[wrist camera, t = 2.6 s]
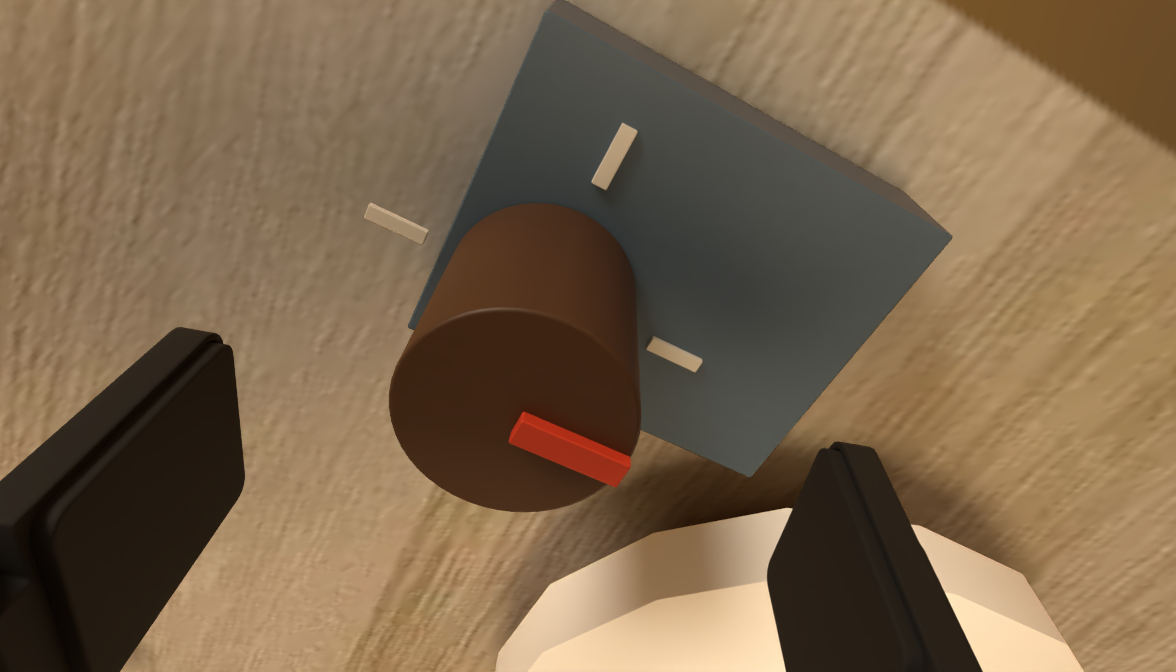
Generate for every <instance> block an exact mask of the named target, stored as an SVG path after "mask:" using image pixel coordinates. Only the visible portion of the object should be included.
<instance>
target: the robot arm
mask: <svg viewBox="0 0 1176 672" xmlns="http://www.w3.org/2000/svg"><path fill="white" fill-rule="evenodd" d="M244 480H245V470H244V460H243V449H242V439H241V429H240V418H239V408H238V397H237V387H236V376H235V366H234V356H233V350H232V348H231V346H229V345H226V344H223V340H222V338H221V337H220V335H218V334H216V333H211V332H206V331H200V330H194V329H188V328H183V327H178V328H175V329H173V330H172V331H171V332H169V333H168V334H167V335H166V336H165V337H164V338H163V339H161V340H160V341H159V342H158V343H157V344H156V345H155V346H153V347H152V348H151V349H150V350H149V351H148V352H147V353H145V354H144V355H143V356H142V357H141V358H140V359H139V360H138V361H136V362H135V363H134V364H133V365H132V366H131V367H130V368H128V369H127V370H126V371H125V372H124V373H123V374H122V375H120V376H119V377H118V378H117V379H116V380H115V381H114V382H112V383H111V384H110V385H109V386H108V387H107V388H106V389H105V390H103V391H102V392H101V393H100V394H99V395H98V396H97V397H95V398H94V399H93V400H92V401H91V402H90V403H89V404H87V405H86V406H85V407H84V408H83V409H82V410H81V411H79V412H78V413H77V414H76V415H75V416H74V417H73V418H71V419H70V420H69V421H68V422H67V423H66V424H65V425H64V426H62V427H61V428H60V429H59V430H58V431H57V432H56V433H54V434H53V435H52V436H51V437H50V438H49V439H48V440H46V441H45V442H44V443H43V444H42V445H41V446H40V447H38V448H37V449H36V450H35V451H34V452H33V453H32V454H31V455H29V456H28V457H27V458H26V459H25V460H24V461H23V462H21V463H20V464H19V465H18V466H17V467H16V468H15V469H13V470H12V471H11V472H10V473H9V474H8V475H7V476H5V477H4V478H3V479H2V480H1V481H0V672H120V671H121V669H122V668H123V666H124V665H125V663H126V662H127V660H128V659H129V657H130V656H131V655H132V653H133V652H134V650H135V649H136V647H137V646H138V644H139V643H140V641H141V640H142V638H143V637H144V636H145V634H146V633H147V631H148V630H149V628H150V627H151V625H152V624H153V622H154V621H155V619H156V618H157V617H158V615H159V614H160V612H161V611H162V609H163V608H164V606H165V605H166V603H167V602H168V600H169V599H170V598H171V596H172V595H173V593H174V592H175V590H176V589H177V587H178V586H179V584H180V583H181V581H182V580H183V579H184V577H185V576H186V574H187V573H188V571H189V570H190V568H191V567H192V565H193V564H194V562H195V561H196V560H197V558H198V557H199V555H200V554H201V552H202V551H203V549H204V548H205V546H206V545H207V543H208V542H209V541H210V539H211V538H212V536H213V535H214V533H215V532H216V530H217V529H218V527H219V526H220V524H221V523H222V522H223V520H224V519H225V517H226V516H227V514H228V513H229V511H230V510H231V508H232V507H233V505H234V504H235V503H236V501H237V500H238V498H239V496H240V494H241V492H242V489H243V485H244ZM767 585H768V590H769V595H770V600H771V604H772V609H773V614H774V618H775V623H776V628H777V632H778V637H779V642H780V646H781V651H782V656H783V660H784V665H785V670H786V672H983V671H982V669H981V667H980V665H979V662H978V660H977V658H976V656H975V654H974V652H973V650H972V648H971V646H970V644H969V642H968V640H967V637H966V635H965V633H964V631H963V629H962V627H961V625H960V623H959V621H958V619H957V617H956V615H955V613H954V610H953V608H952V606H951V604H950V602H949V600H948V598H947V596H946V594H945V592H944V590H943V588H942V585H941V583H940V581H939V579H938V577H937V575H936V573H935V571H934V569H933V567H932V565H931V563H930V560H929V558H928V556H927V554H926V552H925V550H924V549H923V547H922V546H921V544H920V543H919V541H918V539H917V536H916V534H915V532H914V530H913V528H912V526H911V524H910V522H909V520H908V518H907V516H906V513H905V511H904V509H903V507H902V505H901V503H900V501H899V499H898V497H897V495H896V493H895V490H894V488H893V486H892V484H891V482H890V480H889V478H888V476H887V474H886V472H885V469H884V467H883V465H882V463H881V461H880V459H879V457H878V455H877V453H876V451H875V450H874V449H873V448H871V447H867V446H861V445H856V444H850V443H844V442H834V443H833V444H832V445H831V446H830V448H829V449H826V448H822V449H821V450H820V451H819V452H818V454H817V455H816V458H815V460H814V462H813V464H812V467H811V469H810V471H809V473H808V476H807V478H806V480H805V482H804V485H803V487H802V489H801V491H800V494H799V496H798V498H797V500H796V503H795V505H794V507H793V509H792V512H791V514H790V516H789V518H788V521H787V523H786V525H785V527H784V530H783V532H782V534H781V536H780V539H779V541H778V543H777V545H776V548H775V550H774V552H773V554H772V556H771V559H770V561H769V564H768V569H767Z"/></svg>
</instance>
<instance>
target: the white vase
mask: <svg viewBox="0 0 1176 672" xmlns="http://www.w3.org/2000/svg"><path fill="white" fill-rule="evenodd" d="M791 512H792V508H784V509H778V510H773V511H768V512H762V513H757V514H752V515H746V516H741V517H736V518H730V519H725V520H720V521H714V522H709V523H704V524H698V525H693V526H688V527H682V528H677V529H672V530H666V531H661V532H656V533H652V534H650V535H648V536H646V537H644V538H642V539H640V540H638V541H636V542H634V543H632V544H630V545H628V546H626V547H624V548H622V549H620V550H618V551H616V552H614V553H612V554H610V555H608V556H606V557H604V558H602V559H600V560H598V561H596V562H594V563H592V564H590V565H588V566H586V567H584V568H582V569H580V570H578V571H576V572H574V573H572V574H570V575H568V576H566V577H564V578H562V579H560V580H558V581H556V582H554V583H552V584H550V585H549V586H548V588H547V589H546V590H545V592H544V593H543V594H542V596H541V597H540V598H539V600H538V601H537V602H536V604H535V605H534V606H533V607H532V609H531V610H530V611H529V613H528V614H527V615H526V617H525V618H524V619H523V621H522V622H521V623H520V625H519V626H518V627H517V629H516V630H515V631H514V633H513V634H512V635H511V637H510V638H509V639H508V641H507V642H506V643H505V645H504V646H503V647H502V648H501V650H500V651H499V653H498V659H497V665H496V671H495V672H786V670H785V665H784V660H783V656H782V651H781V646H780V642H779V637H778V632H777V628H776V623H775V618H774V614H773V609H772V604H771V600H770V595H769V590H768V585H767V569H768V564H769V561H770V559H771V556H772V554H773V552H774V550H775V548H776V545H777V543H778V541H779V539H780V536H781V534H782V532H783V530H784V527H785V525H786V523H787V521H788V518H789V516H790V514H791ZM911 526H912V528H913V530H914V532H915V534H916V536H917V539H918V541H919V543H920V544H921V546H922V547H923V549H924V550H925V552H926V554H927V556H928V558H929V560H930V563H931V565H932V567H933V569H934V571H935V573H936V575H937V577H938V579H939V581H940V583H941V585H942V588H943V590H944V592H945V594H946V596H947V598H948V600H949V602H950V604H951V606H952V608H953V610H954V613H955V615H956V617H957V619H958V621H959V623H960V625H961V627H962V629H963V631H964V633H965V635H966V637H967V640H968V642H969V644H970V646H971V648H972V650H973V652H974V654H975V656H976V658H977V660H978V662H979V665H980V667H981V669H982V671H983V672H1084V671H1083V669H1082V667H1081V666H1080V664H1079V663H1078V661H1077V660H1076V658H1075V656H1074V655H1073V653H1072V652H1071V650H1070V648H1069V647H1068V645H1067V644H1066V642H1065V640H1064V639H1063V637H1062V636H1061V634H1060V633H1059V631H1058V629H1057V628H1056V626H1055V625H1054V623H1053V621H1052V620H1051V618H1050V617H1049V615H1048V614H1047V612H1046V610H1045V609H1044V607H1043V606H1042V604H1041V602H1040V601H1039V599H1038V598H1037V596H1036V595H1035V593H1034V591H1033V590H1032V588H1031V587H1030V585H1029V584H1028V582H1027V580H1026V579H1025V577H1024V576H1023V574H1022V573H1020V572H1017V571H1015V570H1013V569H1011V568H1009V567H1007V566H1005V565H1003V564H1000V563H998V562H996V561H994V560H992V559H990V558H988V557H986V556H983V555H981V554H979V553H977V552H975V551H973V550H971V549H969V548H966V547H964V546H962V545H960V544H958V543H956V542H954V541H952V540H949V539H947V538H945V537H943V536H941V535H939V534H937V533H935V532H932V531H930V530H928V529H926V528H924V527H922V526H919V525H911Z"/></svg>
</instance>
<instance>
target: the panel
mask: <svg viewBox="0 0 1176 672" xmlns="http://www.w3.org/2000/svg"><path fill="white" fill-rule="evenodd" d="M527 203H548V204H554V205H560V206H563V207H567V208H571V209H573V210H576V211H578V212H580V213H583V214H585V215H587V216H588V217H590V218H592V219H593V220H595V221H596V222H598V223H599V224H600V225H602V226H603V227H604V228H606V229H607V230H608V231H609V232H610V233H611V234H612V235H613V236H614V238H615V239H616V240H617V241H618V243H619V244H620V245H621V247H622V248H623V250H624V252H625V254H626V255H627V257H628V260H629V262H630V265H631V267H632V271H633V275H634V279H635V289H636V309H637V330H638V351H639V372H640V393H641V414H642V416H641V429H640V430H642V431H645V432H647V433H649V434H652V435H654V436H656V437H658V438H661V439H663V440H665V441H668V442H670V443H672V444H674V445H677V446H679V447H681V448H684V449H686V450H688V451H690V452H693V453H695V454H697V455H699V456H702V457H704V458H706V459H709V460H711V461H713V462H715V463H718V464H720V465H722V466H725V467H727V468H729V469H731V470H734V471H736V472H738V473H741V474H743V475H745V476H747V477H751V476H752V475H753V474H754V473H755V472H756V471H757V469H758V468H759V467H760V466H761V465H762V463H763V462H764V461H765V460H766V459H767V457H768V456H769V455H770V454H771V453H772V452H773V450H774V449H775V448H776V447H777V446H778V444H779V443H780V442H781V441H782V440H783V438H784V437H785V436H786V435H787V434H788V433H789V431H790V430H791V429H792V428H793V427H794V425H795V424H796V423H797V422H798V421H799V419H800V418H801V417H802V416H803V415H804V414H805V412H806V411H807V410H808V409H809V408H810V406H811V405H812V404H813V403H814V402H815V401H816V399H817V398H818V397H819V396H820V395H821V393H822V392H823V391H824V390H825V389H826V387H827V386H828V385H829V384H830V383H831V382H832V380H833V379H834V378H835V377H836V376H837V374H838V373H839V372H840V371H841V370H842V368H843V367H844V366H845V365H846V364H847V363H848V361H849V360H850V359H851V358H852V357H853V355H854V354H855V353H856V352H857V351H858V349H859V348H860V347H861V346H862V345H863V344H864V342H865V341H866V340H867V339H868V338H869V336H870V335H871V334H872V333H873V332H874V331H875V329H876V328H877V327H878V326H879V325H880V323H881V322H882V321H883V320H884V319H885V317H886V316H887V315H888V314H889V313H890V312H891V310H892V309H893V308H894V307H895V306H896V304H897V303H898V302H899V301H900V300H901V298H902V297H903V296H904V295H905V294H906V293H907V291H908V290H909V289H910V288H911V287H912V285H913V284H914V283H915V282H916V281H917V279H918V278H919V277H920V276H921V275H922V274H923V272H924V271H925V270H926V269H927V268H928V266H929V265H930V264H931V263H932V262H933V261H934V259H935V258H936V257H937V256H938V255H939V253H940V252H941V251H942V250H943V249H944V247H945V246H946V245H947V244H948V243H949V242H950V240H951V239H952V235H951V234H950V233H948V232H947V231H946V230H945V229H944V228H943V227H942V226H941V225H940V224H939V223H938V222H936V221H935V220H934V219H933V218H932V217H931V216H930V215H929V214H928V213H927V212H926V211H924V210H923V209H922V208H921V207H920V206H919V205H918V204H917V203H916V202H915V201H914V200H912V199H911V198H910V197H909V196H908V195H907V194H906V193H905V192H903V191H901V190H899V189H897V188H896V187H894V186H892V185H890V184H889V183H887V182H885V181H883V180H882V179H880V178H878V177H876V176H874V175H873V174H871V173H869V172H867V171H866V170H864V169H862V168H860V167H859V166H857V165H855V164H853V163H851V162H850V161H848V160H846V159H844V158H843V157H841V156H839V155H837V154H836V153H834V152H832V151H830V150H828V149H827V148H825V147H823V146H821V145H820V144H818V143H816V142H814V141H813V140H811V139H809V138H807V137H805V136H804V135H802V134H800V133H798V132H797V131H795V130H793V129H791V128H790V127H788V126H786V125H784V124H782V123H781V122H779V121H777V120H775V119H774V118H772V117H770V116H768V115H767V114H765V113H763V112H761V111H759V110H758V109H756V108H754V107H752V106H751V105H749V104H747V103H745V102H744V101H742V100H740V99H738V98H736V97H735V96H733V95H731V94H729V93H728V92H726V91H724V90H722V89H720V88H719V87H717V86H715V85H713V84H712V83H710V82H708V81H706V80H705V79H703V78H701V77H699V76H697V75H696V74H694V73H692V72H690V71H689V70H687V69H685V68H683V67H682V66H680V65H678V64H676V63H674V62H673V61H671V60H669V59H667V58H666V57H664V56H662V55H660V54H659V53H657V52H655V51H653V50H651V49H650V48H648V47H646V46H644V45H643V44H641V43H639V42H637V41H636V40H634V39H632V38H630V37H628V36H627V35H625V34H623V33H621V32H620V31H618V30H616V29H614V28H613V27H611V26H609V25H607V24H605V23H604V22H602V21H600V20H598V19H597V18H595V17H593V16H591V15H590V14H588V13H586V12H584V11H582V10H581V9H579V8H577V7H575V6H574V5H572V4H570V3H568V2H566V1H565V0H555V1H554V2H553V3H552V4H551V6H550V7H549V8H548V9H547V10H546V11H545V13H544V15H543V17H542V20H541V22H540V24H539V26H538V29H537V31H536V33H535V36H534V38H533V40H532V42H531V45H530V47H529V49H528V52H527V54H526V56H525V59H524V61H523V63H522V65H521V68H520V70H519V72H518V75H517V77H516V79H515V81H514V84H513V86H512V88H511V91H510V93H509V95H508V97H507V100H506V102H505V104H504V107H503V109H502V111H501V113H500V116H499V118H498V120H497V123H496V125H495V127H494V129H493V132H492V134H491V136H490V139H489V141H488V143H487V145H486V148H485V150H484V152H483V155H482V157H481V159H480V162H479V164H478V166H477V168H476V171H475V173H474V175H473V178H472V180H471V182H470V184H469V187H468V189H467V191H466V194H465V196H464V198H463V200H462V203H461V205H460V207H459V210H458V212H457V214H456V216H455V219H454V221H453V223H452V226H451V228H450V230H449V232H448V235H447V237H446V239H445V242H444V244H443V246H442V248H441V251H440V253H439V255H438V258H437V260H436V262H435V265H434V267H433V269H432V271H431V274H430V276H429V278H428V281H427V283H426V285H425V287H424V290H423V292H422V294H421V297H420V299H419V301H418V303H417V306H416V308H415V310H414V313H413V315H412V317H411V319H410V322H409V324H408V328H410V329H412V330H415V328H416V326H417V324H418V322H419V320H420V318H421V316H422V314H423V313H424V311H425V309H426V307H427V305H428V303H429V301H430V299H431V297H432V295H433V293H434V291H435V289H436V287H437V285H438V283H439V281H440V279H441V277H442V275H443V273H444V271H445V269H446V267H447V265H448V263H449V262H450V260H451V258H452V256H453V254H454V252H455V250H456V248H457V246H458V244H459V243H460V241H461V240H462V238H463V237H464V236H465V235H466V233H467V232H468V231H469V230H470V229H471V228H472V227H473V226H474V225H475V224H477V223H478V222H479V221H481V220H482V219H483V218H485V217H487V216H488V215H490V214H492V213H494V212H496V211H499V210H501V209H504V208H507V207H510V206H515V205H519V204H527ZM364 218H365V219H367V220H369V221H371V222H373V223H375V224H377V225H380V226H382V227H384V228H386V229H388V230H390V231H392V232H395V233H397V234H399V235H401V236H403V237H405V238H407V239H410V240H412V241H414V242H416V243H418V244H420V245H423V244H424V242H425V240H426V237H427V235H428V232H429V230H428V229H426V228H423V227H421V226H419V225H417V224H415V223H413V222H411V221H409V220H407V219H404V218H402V217H400V216H398V215H396V214H394V213H392V212H390V211H387V210H385V209H383V208H381V207H379V206H377V205H375V204H373V203H370V204H369V205H368V208H367V211H366V213H365V216H364Z"/></svg>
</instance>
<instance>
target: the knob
mask: <svg viewBox="0 0 1176 672" xmlns="http://www.w3.org/2000/svg"><path fill="white" fill-rule="evenodd" d="M389 410H390V416H391V422H392V425H393V428H394V431H395V434H396V437H397V439H398V441H399V443H400V445H401V447H402V448H403V450H404V451H405V453H406V454H407V456H408V457H409V459H410V460H411V461H412V462H413V464H414V465H415V466H416V467H417V468H418V469H419V470H420V471H421V472H422V473H423V474H424V475H425V476H426V477H427V478H428V479H430V480H431V481H432V482H434V483H435V484H437V485H438V486H439V487H441V488H442V489H444V490H446V491H447V492H449V493H451V494H453V495H454V496H457V497H459V498H461V499H463V500H466V501H468V502H471V503H474V504H477V505H480V506H483V507H487V508H492V509H496V510H503V511H510V512H539V511H547V510H553V509H558V508H561V507H565V506H569V505H572V504H574V503H577V502H579V501H582V500H584V499H586V498H588V497H590V496H592V495H594V494H595V493H597V492H598V491H600V490H601V489H603V488H604V487H605V486H607V485H611V486H613V487H617V486H618V485H619V483H620V482H621V480H622V479H623V478H624V476H625V475H626V473H627V472H628V471H629V469H630V468H631V458H630V457H631V456H632V454H633V452H634V449H635V447H636V444H637V442H638V438H639V434H640V429H641V416H642V414H641V393H640V372H639V351H638V330H637V309H636V289H635V279H634V275H633V271H632V267H631V265H630V262H629V260H628V257H627V255H626V254H625V252H624V250H623V248H622V247H621V245H620V244H619V243H618V241H617V240H616V239H615V238H614V236H613V235H612V234H611V233H610V232H609V231H608V230H607V229H606V228H604V227H603V226H602V225H600V224H599V223H598V222H596V221H595V220H593V219H592V218H590V217H588V216H587V215H585V214H583V213H580V212H578V211H576V210H573V209H571V208H567V207H563V206H560V205H554V204H548V203H527V204H519V205H515V206H510V207H507V208H504V209H501V210H499V211H496V212H494V213H492V214H490V215H488V216H487V217H485V218H483V219H482V220H481V221H479V222H478V223H477V224H475V225H474V226H473V227H472V228H471V229H470V230H469V231H468V232H467V233H466V235H465V236H464V237H463V238H462V240H461V241H460V243H459V244H458V246H457V248H456V250H455V252H454V254H453V256H452V258H451V260H450V262H449V263H448V265H447V267H446V269H445V271H444V273H443V275H442V277H441V279H440V281H439V283H438V285H437V287H436V289H435V291H434V293H433V295H432V297H431V299H430V301H429V303H428V305H427V307H426V309H425V311H424V313H423V314H422V316H421V318H420V320H419V322H418V324H417V326H416V328H415V330H414V332H413V334H412V336H411V338H410V340H409V342H408V344H407V346H406V348H405V350H404V352H403V354H402V356H401V358H400V360H399V362H398V363H397V365H396V368H395V370H394V373H393V376H392V379H391V384H390V390H389Z"/></svg>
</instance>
